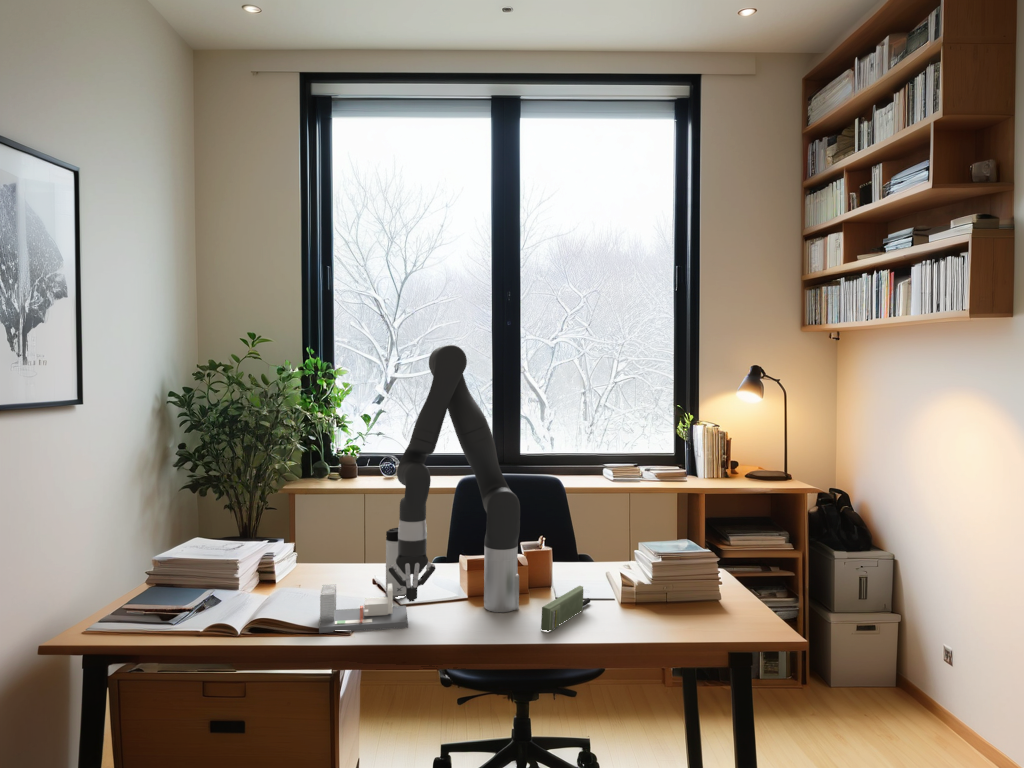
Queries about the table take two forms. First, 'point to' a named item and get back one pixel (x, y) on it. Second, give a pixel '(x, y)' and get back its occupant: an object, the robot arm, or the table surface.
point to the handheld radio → (563, 608)
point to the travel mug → (390, 560)
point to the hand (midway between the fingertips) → (411, 600)
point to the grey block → (328, 603)
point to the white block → (379, 604)
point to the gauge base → (365, 620)
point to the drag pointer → (361, 614)
